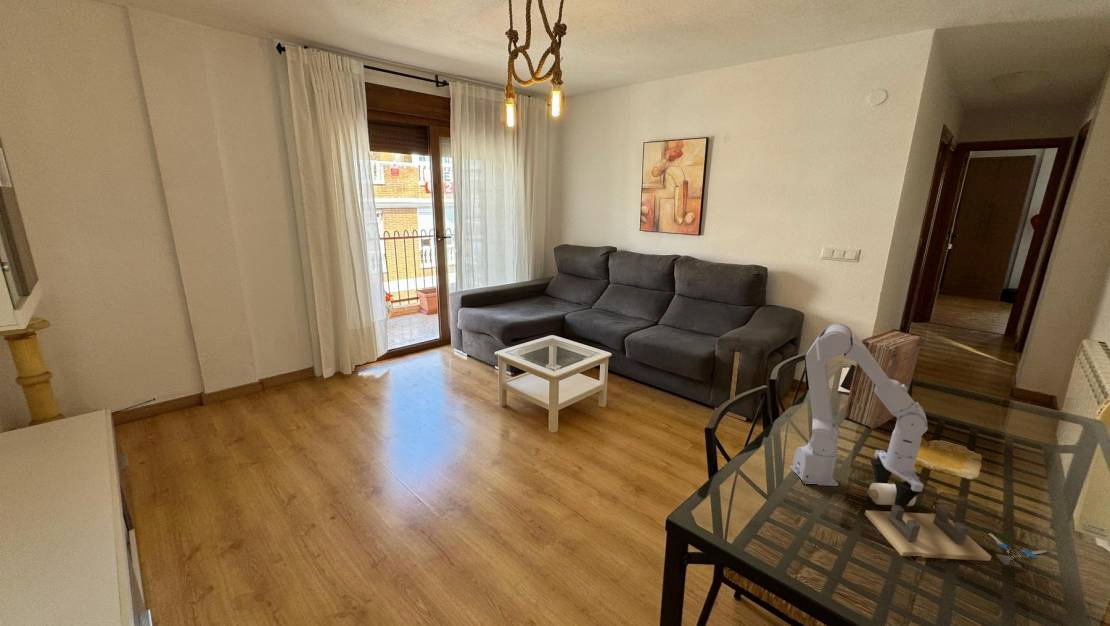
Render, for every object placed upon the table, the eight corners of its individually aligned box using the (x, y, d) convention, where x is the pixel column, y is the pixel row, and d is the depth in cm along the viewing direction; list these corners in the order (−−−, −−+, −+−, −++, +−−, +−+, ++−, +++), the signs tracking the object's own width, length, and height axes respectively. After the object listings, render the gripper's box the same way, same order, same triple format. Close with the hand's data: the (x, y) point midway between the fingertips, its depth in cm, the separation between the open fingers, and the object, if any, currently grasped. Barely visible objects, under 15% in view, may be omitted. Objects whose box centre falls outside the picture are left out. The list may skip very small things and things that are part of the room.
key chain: (1016, 573, 95) (1017, 570, 94) (969, 545, 102) (970, 542, 102) (1047, 553, 100) (1048, 550, 100) (1000, 528, 107) (1001, 525, 107)
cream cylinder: (872, 508, 113) (879, 494, 111) (861, 492, 118) (867, 478, 116) (916, 511, 113) (924, 496, 111) (903, 494, 118) (910, 480, 115)
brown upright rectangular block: (871, 430, 150) (892, 347, 142) (842, 418, 157) (861, 339, 149) (903, 412, 164) (923, 335, 155) (875, 401, 171) (893, 328, 163)
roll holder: (901, 555, 98) (907, 535, 96) (864, 514, 110) (869, 495, 109) (989, 560, 97) (997, 540, 96) (942, 518, 110) (948, 499, 108)
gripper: (941, 469, 104) (926, 517, 108) (898, 436, 118) (886, 479, 122) (911, 468, 104) (897, 516, 108) (871, 435, 118) (860, 478, 122)
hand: (889, 496), depth 115 cm, fingers open, 7 cm apart
